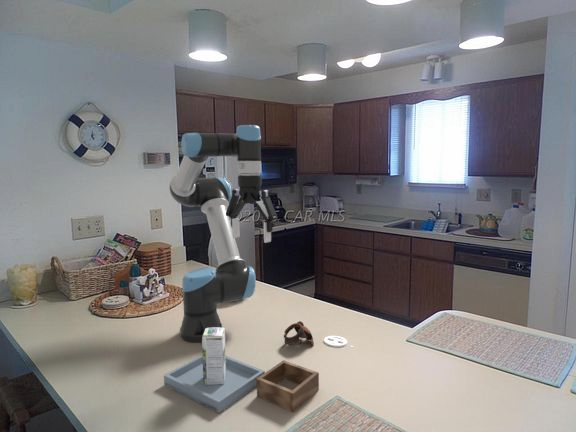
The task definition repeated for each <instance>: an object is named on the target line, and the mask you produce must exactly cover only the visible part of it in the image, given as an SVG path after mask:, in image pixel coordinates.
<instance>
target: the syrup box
mask: <svg viewBox="0 0 576 432" xmlns="http://www.w3.org/2000/svg"><path fill="white" fill-rule="evenodd" d="M201 344H202V345H201V347H202V348H201V349H202V355H203V385H218V384H224V380H225V375H226V359H225V356H226V329H225V327H222V328H219V327H212V328H205V331H204V334H203V337H202V342H201Z"/></svg>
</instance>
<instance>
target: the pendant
mask: <svg viewBox="0 0 576 432" xmlns="http://www.w3.org/2000/svg"><path fill="white" fill-rule="evenodd" d="M323 342H324V344H325V345H327V346H330V347H333V348H343V347H350V348H354V346H353V345H350V344H349V345H348V339H346V338H345V337H342V336H338V335H328V336H325V337H324V339H323Z"/></svg>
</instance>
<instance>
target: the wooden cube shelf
mask: <svg viewBox="0 0 576 432" xmlns="http://www.w3.org/2000/svg"><path fill="white" fill-rule="evenodd" d="M319 376H320V374H319V372H318V371H315V370H312V369H309V368H307V367H304V366H301V365H299V364H295V363H293V362H290V361H287V360H284V359H283V360H282V361H280V362H278V363H277V364H276V365H274V366H273V367H272V368H270V369H268V370H267V371H266V372H265V373H264V374H263V375H261V376H260V377H258V378H257V387H256V396H257V397H259V398H260V399H263V400H265V401H267V402H270V403H271V404H274V405H276V406H279V407H281V408H283V409H285V410H287V411H290V412H291V413H294V412H296V411H297V410H298V409H299V408H300V407H301V406H302V405H304V403H306V401H308V400H309V399H310V398H311V397H312V396H314V394H316V393H317V392H318V391H319V390H320V385H319V384H320V383H319V382H320V381H319V380H320V379H319V378H320V377H319ZM284 380H286V381H288V382H292V383H295V384H297V386H296V387H295V388H294V389H290V388H287V387H284V386H282V385H280V383H281V382H282V381H284Z"/></svg>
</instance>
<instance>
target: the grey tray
mask: <svg viewBox="0 0 576 432" xmlns="http://www.w3.org/2000/svg"><path fill="white" fill-rule="evenodd" d="M225 359H226V375H225V380H224V384H218V385H203V354H201V355H200V356H197V357H196V358H194V359H192V360H190V361H188V362H187V363H184V364H182V365H180V366H179V367H177V368H175V369H173V370H171V371H169V372H167V373H166V374H164V375H163V384H164V386H165V387H168V388H169V389H172V390H173V391H175V392H177V393H179V394H181V395H183V396H185V397H187V398H188V399H191V400H193V401H194V402H196V403H199V404H201V405H202V406H205V407H207V408H208V409H210V410H212V411H214V412H216V413H218V414H220V413H221V412H222V413H223V411H224V410H226V409H227V408H230V406H231V405H233V404H234V403H236V402H237V401H239V400H240V399H242V398H243V397H244V396H246V395H247V394H249V393H250V392H252V391H253V390H254V389H255V388H256V389H257V378H258V377H260V376H261V375H263V374H264V373H266V372H265V370H263V369H260V368H258V367H255V366H253V365H251V364H248V363H246V362H243V361H240V360H238V359H235V358H232V357H229V356H227V355H225Z"/></svg>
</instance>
